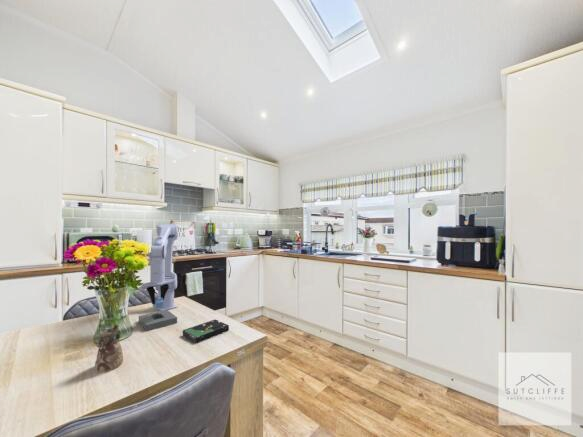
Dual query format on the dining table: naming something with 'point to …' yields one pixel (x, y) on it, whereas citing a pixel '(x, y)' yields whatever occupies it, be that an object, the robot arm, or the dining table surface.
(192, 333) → the disk drive
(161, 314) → the chassis
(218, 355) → the dining table surface
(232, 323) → the dining table surface
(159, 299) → the servo
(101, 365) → the figurine
